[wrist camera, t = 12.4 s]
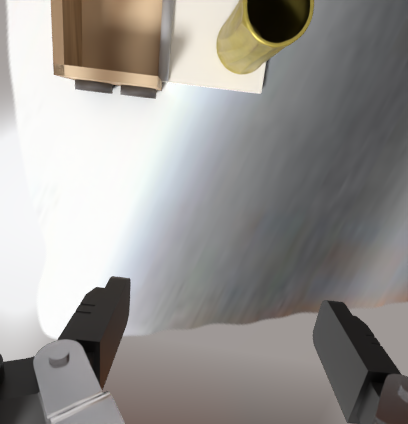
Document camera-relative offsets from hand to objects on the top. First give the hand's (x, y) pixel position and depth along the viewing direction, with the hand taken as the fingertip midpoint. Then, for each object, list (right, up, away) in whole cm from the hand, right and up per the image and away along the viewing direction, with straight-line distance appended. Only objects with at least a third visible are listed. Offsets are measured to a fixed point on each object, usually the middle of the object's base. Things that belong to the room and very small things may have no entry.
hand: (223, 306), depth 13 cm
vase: (+4, +23, +23) cm, 33 cm away
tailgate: (+1, +24, +24) cm, 34 cm away
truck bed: (-10, +25, +22) cm, 35 cm away
